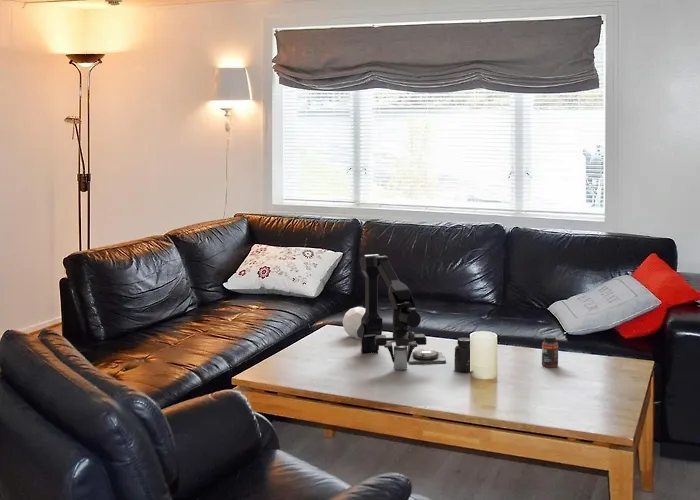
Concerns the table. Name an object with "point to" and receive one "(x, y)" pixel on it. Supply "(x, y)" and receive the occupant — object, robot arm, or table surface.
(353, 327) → the geodesic sphere
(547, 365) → the supplement bottle
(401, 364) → the knob
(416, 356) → the base
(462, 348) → the supplement bottle
